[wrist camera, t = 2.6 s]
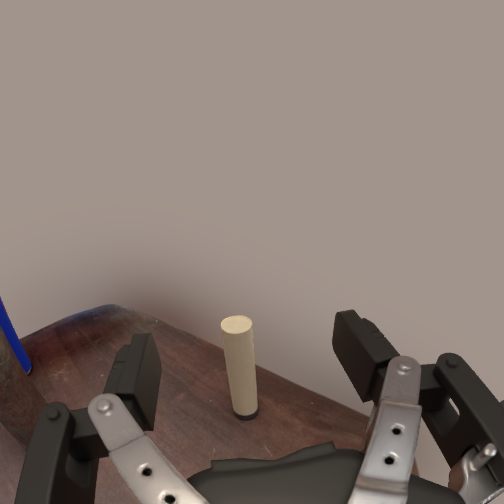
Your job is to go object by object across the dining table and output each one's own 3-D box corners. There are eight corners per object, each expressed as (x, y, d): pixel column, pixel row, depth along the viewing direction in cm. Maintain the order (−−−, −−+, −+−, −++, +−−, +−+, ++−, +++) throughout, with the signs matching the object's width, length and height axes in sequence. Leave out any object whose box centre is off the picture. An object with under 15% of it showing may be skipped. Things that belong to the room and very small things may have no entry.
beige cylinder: (252, 399, 31) (245, 312, 26) (262, 415, 28) (257, 328, 24) (230, 406, 30) (216, 319, 25) (239, 423, 27) (226, 336, 23)
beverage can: (37, 363, 34) (1, 283, 28) (24, 382, 29) (-18, 299, 24) (18, 360, 33) (-16, 284, 28) (6, 378, 29) (-34, 299, 23)
